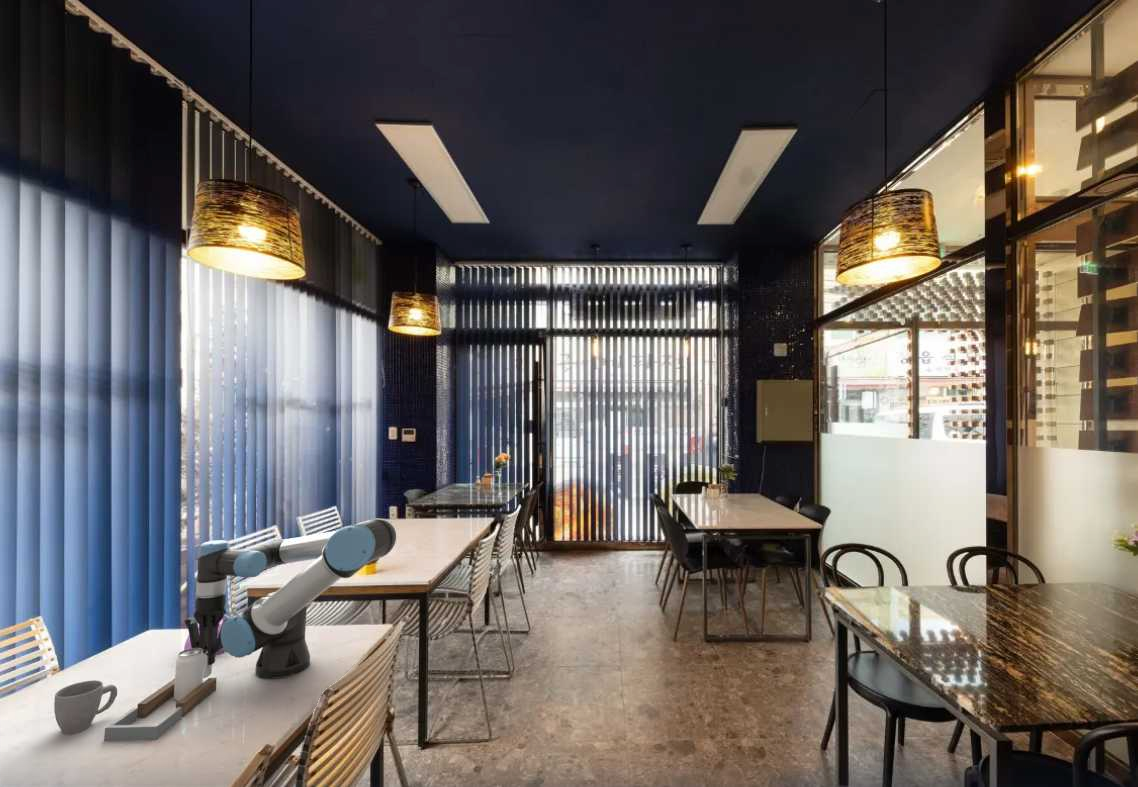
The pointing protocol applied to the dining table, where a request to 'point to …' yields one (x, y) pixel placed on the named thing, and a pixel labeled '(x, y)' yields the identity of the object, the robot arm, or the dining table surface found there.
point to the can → (188, 672)
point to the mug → (80, 705)
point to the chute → (168, 692)
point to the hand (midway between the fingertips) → (206, 675)
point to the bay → (140, 727)
